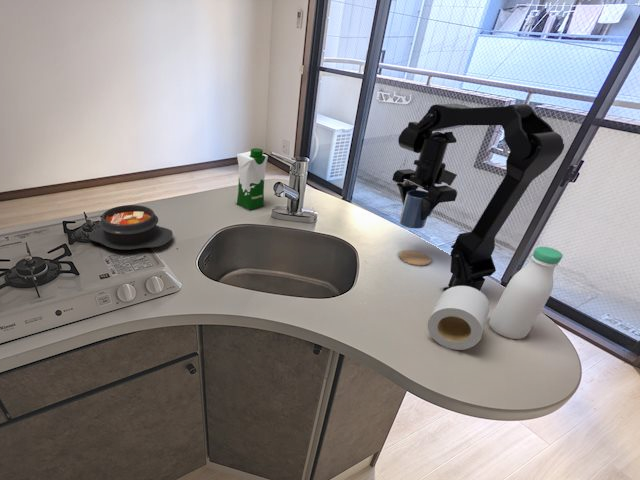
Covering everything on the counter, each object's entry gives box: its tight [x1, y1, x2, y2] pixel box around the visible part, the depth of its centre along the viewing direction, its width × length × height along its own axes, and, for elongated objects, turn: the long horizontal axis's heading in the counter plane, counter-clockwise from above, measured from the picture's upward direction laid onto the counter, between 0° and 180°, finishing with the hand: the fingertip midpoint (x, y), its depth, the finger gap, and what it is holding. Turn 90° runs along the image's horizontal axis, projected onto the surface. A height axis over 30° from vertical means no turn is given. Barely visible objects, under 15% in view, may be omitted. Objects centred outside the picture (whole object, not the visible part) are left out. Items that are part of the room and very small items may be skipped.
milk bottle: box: [488, 246, 563, 340], centre depth 83 cm, size 8×8×20 cm
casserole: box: [88, 204, 173, 251], centre depth 117 cm, size 25×19×8 cm
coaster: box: [398, 249, 432, 267], centre depth 115 cm, size 9×9×1 cm
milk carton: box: [236, 147, 269, 211], centre depth 138 cm, size 9×9×20 cm
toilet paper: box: [427, 286, 491, 351], centre depth 84 cm, size 10×10×10 cm
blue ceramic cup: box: [398, 189, 432, 229], centre depth 109 cm, size 9×7×8 cm
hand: (414, 215), depth 110 cm, fingers closed on blue ceramic cup, 7 cm apart
